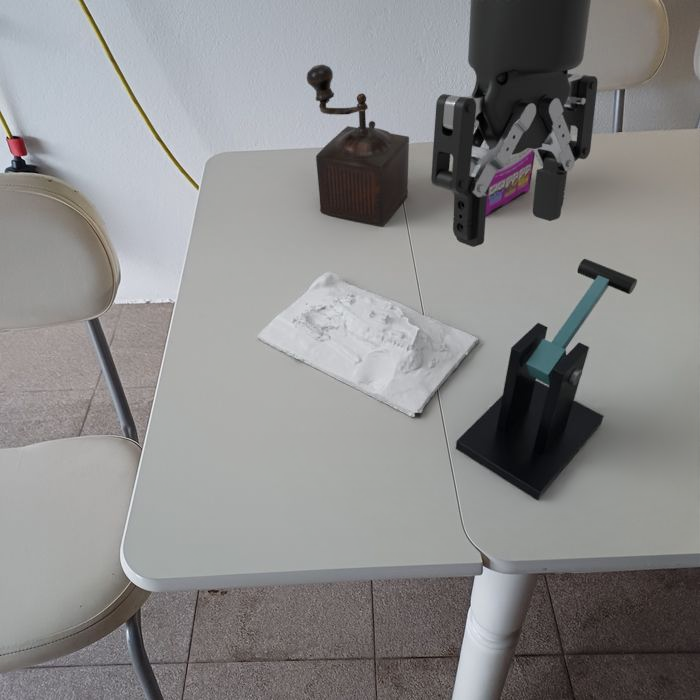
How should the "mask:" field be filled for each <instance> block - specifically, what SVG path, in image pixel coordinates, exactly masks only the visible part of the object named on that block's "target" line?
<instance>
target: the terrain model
mask: <svg viewBox="0 0 700 700" xmlns="http://www.w3.org/2000/svg"><path fill="white" fill-rule="evenodd" d="M257 338H258V339H259V340H261V341H262V342H263V343H265V344H267V345H269V346H270V347H272V348H274V349H276V350H278V351H280V352H282V353H285V354H287V355H288V356H291V357H292V358H294V359H296V360H298V361H300V362H302V363H304V364H306V365H308V366H310V367H313V368H314V369H316V370H318V371H320V372H322V373H324V374H326V375H328V376H330V377H332V378H334V379H337V380H338V381H340V382H342V383H344V384H346V385H348V386H350V387H352V388H354V389H356V390H358V391H360V392H362V393H364V394H366V395H368V396H369V397H372V398H374V399H375V400H377V401H380V402H382V403H383V404H385V405H388V406H389V407H391V408H394V409H395V410H398V411H400V412H402V413H403V414H405V415H407V416H408V417H411V418H415V417H416V415H415V414H418V413H419V414H421V413H424V412H423V411H424V408H425V406H427V404H428V403H429V401H431V398H432V397H434V396H435V393H437V391H438V390H439V388H440V387H442V385H443V384H444V383H445V381H446V380H448V378H449V377H450V376H451V374H452V373H453V372H454V371H455V370H456V368H457V367H458V366H459V365H460V364H461V362H462V361H463V360H464V359H465V358H466V357H467V355H468V354H469V353H470V352H471V351H472V350H473V348H474V347H475V346H477V344H478V341H479V338H477V336H474V335H472V334H470V333H469V332H466V331H463V330H460V329H458V328H456V327H453V326H449V325H448V324H445V323H443V322H441V321H440V320H437V319H434V318H432V317H430V316H429V317H428V316H427V315H424V314H422V313H420V312H418V311H416V310H414V309H413V308H410V307H408V306H406V305H404V304H402V303H400V302H398V301H395V300H392V299H390V298H388V297H385V296H383V295H380V294H376V293H373V292H371V291H368V290H365V289H362V288H360V287H358V286H356V285H352V284H350V283H347V282H345V281H344V280H343V279H342V277H340V276H339V275H337V274H336V273H334V272H332V271H326V272H325V273H323V274H322V275H320V276H319V277H318V278H316V279H315V280H314V281H313V282H312V284H311V285H310V286H309V288H308V289H307V291H306V292H305V293H304V294H303V295H301V296H300V297H299V298H297V299H296V300H295V301H294V302H293V303H292V304H291V305H290V306H289V307H287V308H285V309H284V310H283V311H281V312H280V313H279V314H278V315H277V316H275V317H274V318H273V320H272V321H270V322H269V323H268V324H267V325H266V326H265V327H264V328H263V329H262V330H261V331H260V332H259V333H258V334H257Z"/></svg>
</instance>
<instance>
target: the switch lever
mask: <svg viewBox="0 0 700 700" xmlns="http://www.w3.org/2000/svg"><path fill="white" fill-rule="evenodd" d="M576 272H577V273H578V274H579V275H582V276H584V277H586V278H589V279H591V280H594V281H592V283H591V285H590V286H589V287H588V289H587V291H586V292H585V293H584V295H583V296H582V297H581V299H580V300H579V302H578V303H577V305H576V306H575V307H574V309H573V310H572V312H571V313H570V315H569V316H568V318H567V319H566V321H565V322H564V324H563V325H562V326H561V328H560V329H559V330H558V332H557V333H556V335H555V336H554V338H553V339H552V340H551V341H549V340H547V339H546V338H545V339H543V340H542V341H541V343H540V344H539V346H538V347H537V348H536V350H535V351H534V353H533V354H532V356H531V357H530V358H529V360H528V361H527V363H526V365H527V370H528V374H529V375H530V376H532V377H534V378H536V380H537V381H540V383H542V384H544V385H546V386H549V384H550V380H551V376H552V372H553V369H554V368H555V367H556V366H557V365H558V364H559V362H560V361H561V360H562V359H563V358H564V357H565V356H566V355H567V350H566V349H567V347H568V346H569V344H570V343H571V342H572V340H573V338H574V337H575V336H576V334H577V333H578V331H579V330H580V329H581V327H582V326H583V324H584V323H585V321H586V320H587V319H588V317H589V316H590V315H591V312H593V310H594V308H595V307H596V305H597V304H598V303H599V301H600V300H601V299H602V297H603V296H604V294H605V292H606V291H607V290H608V288H609V287H611V288H613V289H615V290H618V291H620V292H623V293H625V294H628V295H631V294H632V293H633V292H634V290H635V288H636V286H637V284H638V278H635V277H633V276H631V275H628V274H625V273H623V272H620V271H617V270H616V269H615V270H614V269H612V268H610V267H607V266H605V265H602V264H599V263H597V262H595V261H592V260H590V259H587V258H583V259H582V260H581V261H580V263H579V265H578V267H577V271H576Z"/></svg>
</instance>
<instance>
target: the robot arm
mask: <svg viewBox="0 0 700 700" xmlns="http://www.w3.org/2000/svg"><path fill="white" fill-rule="evenodd" d="M591 1H592V0H470V11H469V31H468V53H467V54H468V55H467V62H468V65H469V66H470V68H472V69H473V71H474V73H475V78H476V79H475V84H474V88H473V91H472V92H471V93H472V94H471V95H470V96H469V95H468V96H467V95H466V96H460V95H452V94H448V93H447V94H446V93H443V94H441V95H439V97H438V98H437V100H436V103H435V104H436V105H435V118H434V132H433V147H432V161H431V175H430V181H431V184H432V185H433V186H435V187H438V188H441V189H445V190H449V191H451V192H452V193H453V218H452V222H453V223H452V233H453V235H454V237H455V238H456V240H457V241H458V243H462V244H464V245H466V246H469V247H471V248H474V247H478V246H480V245H483V244H484V242H485V233H486V218H487V216H486V205H487V196H486V195H484V194H485V192H486V190H487V188H488V186H489V185H490V183H491V181H492V179H493V177H494V175H495V173H496V172H497V171H498V170H499V169H502V168H504V167H505V166H506V164H507V162H508V160H509V158H510V157H511V155H513V154H517V153H520V152H522V151H524V150H525V149H527V148H532V149H533V151H534V153H535V157H536V160H537V162H538V164H539V166H541V167H542V168H538V169H536V174H535V182H534V183H535V184H534V193H533V201H532V214H533V216H534V217H536V218H539V219H542V220H545V221H548V222H553V221H555V220H558V219H559V218H560V217H561V214H562V207H563V205H564V200H565V197H564V196H565V191H566V184H567V176H568V172H570V171H571V170H572V169H573V168H574V166H575V162H576V161H578V160H579V159H580V160H586V159H587V158H588V157H589V155H590V153H591V147H592V137H593V130H594V129H593V127H594V119H595V111H596V102H597V91H598V82H599V81H598V78H597V76H594V75H587V74H580V73H568V71H570V70H573V69H575V68H577V67H579V66H580V65H581V64H582V62H583V60H584V55H585V47H586V38H587V33H588V26H589V17H590V9H591ZM572 127H576V129H577V131H576V140H572V135H571V131H572ZM484 140H485V142H486V144H487V145H488V146H489V147H490V148H491V149H485V148H480V147H481V145H482V143H483V141H484ZM451 156H452V169H451V170H450V165H451ZM478 164H481V166H480V168H479V170H478V172H477V173H476V175H475V177H472V176H471V174H472V173H473V171H474V169H475V167H476V166H477V165H478Z"/></svg>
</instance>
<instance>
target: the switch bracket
mask: <svg viewBox="0 0 700 700" xmlns="http://www.w3.org/2000/svg"><path fill="white" fill-rule="evenodd" d="M548 329H549V328H548V326H547V325H544V324H542V323H540V322H537V323H536V324H535V325H534V326H533V327H532V328H531V329H529V330H528V331H527V332H526V333H525V334H524V335H523V336H522V337H521V338H520V339H519V340H518V341H517V342H515V344H513V345H512V346H511V348H510V351H509V352H510V353H509V359H508V365H507V368H506V375H505V380H504V385H503V391H502V395H501V396H500V397H499V398H498V399H497V400H496V401H495V402H494V403H493V404H492V405H491V406H490V407H489V408H488V409H487V410H486V411H485V412H484V413H482V415H481V416H480V417H479V418H478V419H477V420H475V422H474V423H473V424H472V425H471V426H470V427H468V429H467V430H466V431H465V432H463V434H461V436H460V437H459V438H458V439H457V440H456V443H455V449H456V450H457V451H459V452H460V453H462V454H463V455H465V456H467V457H468V458H470V459H471V460H473V461H474V462H476V463H478V464H479V465H481V466H483V468H486V469H487V470H489V471H490V472H492V473H494V474H495V475H496V476H498V477H500V478H501V479H503V480H504V481H506V482H508V483H509V484H511V485H512V486H514V487H516V488H517V489H518V490H520V491H522V492H523V493H524V494H527V495H528V496H530V497H531V498H533V499H534V500H536V501H539V500H540V498H541V497H542V496H543V495H544V494H545V492H546V491H547V490H548V489H549V488H550V487H551V485H552V484H553V483H554V481H555V480H556V479H557V478H558V477H559V475H560V474H561V473H562V472H563V471H564V470H565V468H566V467H567V466H568V464H570V462H571V461H572V459H574V457H575V456H576V455H577V454H578V453H579V451H580V450H581V449H582V448H583V447H584V445H585V444H586V442H588V440H589V439H590V438H591V437H592V435H593V434H594V433H595V432H596V430H597V429H598V428H599V427H600V426H601V424H602V422H603V419H604V415H603V414H601V413H599V412H597V411H595V410H593V409H591V408H589V407H588V406H585V405H584V404H581V403H580V402H578V401H576V400H575V397H576V394H577V391H578V388H579V385H580V384H579V383H580V380H581V378H582V375H583V371H584V367H585V364H586V360H587V357H588V354H589V349H590V346H588V345H586V344H584V343H582V342H578V343H577V344H576V345H575V346H574V347H573V348H572V349H571V350H570V351H569V352H568V353H566V356H565V357H564V358H563V359H562V360H561V361H560V362H559V364H558V365H557V366H556V367H555V368H554V369H553V372H552V376H551V380H550V384H549V385H547V384H545V383H543V382H541V381H540V382H539V380H537V379H536V378H534V377H532V376H530V375H529V374H528V370H527V365H526V363H527V361H528V360H529V358H530V357H531V356H532V354H533V353H534V351H535V350H536V348H537V347H538V346H539V344H540V343H541V341H542V340H543V339H545V340H546V337H547V332H548Z"/></svg>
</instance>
